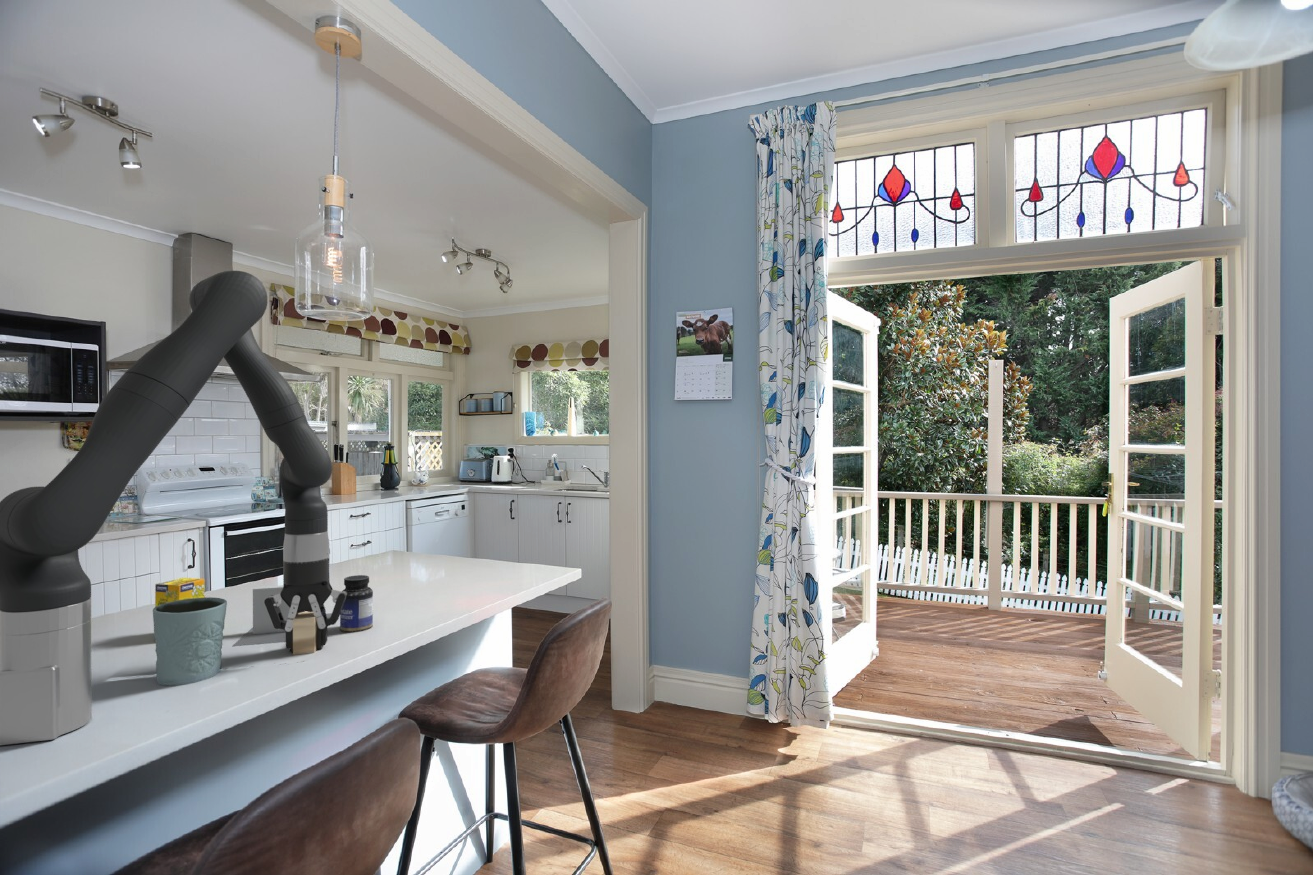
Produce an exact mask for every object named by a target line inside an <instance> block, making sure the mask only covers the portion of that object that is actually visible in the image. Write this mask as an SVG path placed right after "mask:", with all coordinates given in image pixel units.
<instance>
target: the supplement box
mask: <svg viewBox="0 0 1313 875" xmlns="http://www.w3.org/2000/svg"><path fill="white" fill-rule="evenodd" d="M205 583H206V579H205V578H191V577H180V578H176V579H173V580H168V581H164V582H157V583H155V585H154V588H155V589H154V590H155V592H154V593H155V595H154V598H155V599H154V600H155V602H154V603H155V604H154V606H155V607H156V606H158V605H161V604H164V603H168V602H172V601H177V600H184V599H191V598H204V597H205V596H206V595H205V593H206V590H205V587H206V586H205ZM155 607H154V608H155Z"/></svg>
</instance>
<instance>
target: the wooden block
mask: <svg viewBox="0 0 1313 875" xmlns="http://www.w3.org/2000/svg"><path fill="white" fill-rule="evenodd" d="M318 628H319V627H318V623H317V620H316V618H315V617H314V613H313V612H307V611H305V612H301V613H299V614H298V615H297V616H296V618H294V619H293V651H292V655H293V656H294V655H295V656H296V655H306V654H315V653H316V651H317V650H318V649H317V629H318Z"/></svg>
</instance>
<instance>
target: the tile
mask: <svg viewBox="0 0 1313 875" xmlns="http://www.w3.org/2000/svg"><path fill="white" fill-rule="evenodd" d="M282 589H283V585H270V586H255V587H253V589H252V627H253V634H261V633H274V632H285V631H284V630H283V629H275V628H274V626H273V623H272V621H271V618H270V616H269V613H268V611H267V608H266V606H265V603H264V601H265V599H266V598H268V597H269V596H270V595H277V594H280V593H281V591H282ZM279 608H280V610H281V613H282V615H283V618H284V620H285V621H287V619H288V614H289V611H290V607H289V606H288V605H287V604H286V603H285V602H284V600H283V599H281V604H280V605H279Z"/></svg>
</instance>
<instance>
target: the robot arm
mask: <svg viewBox="0 0 1313 875" xmlns="http://www.w3.org/2000/svg"><path fill="white" fill-rule="evenodd" d="M189 306H190V308H191V310H192V311H191V312H190V314H189V316H188V317H187V318H186V319H185V320H184V321H183V322H182V323H181V324H180V325H179V327H177V328H176V329H175V330H173V331H172V333H170V334H169V335H167V336H166V337H164V338H163V339H162V340H161V341H159V342H158V343H156V344H155V345H154V346H153V347H151V348H150V349H149V350H148V351H147V352H145V353H144V354H143V355H142V356H141V357H139V359H138V360H137V361H135V362H134V363H133V364H132V365H131V366H130V367H129V368H128V369H126V371H125V372H124V373H123V374H122V375H121V377H120V378H119V379H118V380H117V381H116V382H115V384H114V385H113V386H112V387H110V389H109V390H108V392H107V393H106V394H105V395H104V397H103V399H102V400H101V402H100V403H99V406H98V408H97V410H96V412H95V414H94V417H93V419H92V421H91V424H90V428H89V431H88V433H87V436H86V438H85V440H84V442H83V444H82V446H81V447H80V449H79V450H78V451H77V453H76V454H75V456H74V457H73V458H72V459H71V460H70V461H69V462H68V463H67V464H66V465H65V466H64V468H63V469H61V471H60V472H59V473H58V474H57V475H56V476H55V477H54V478H52V480H51V481H50V482H48V484H46V485H45V486H30V487H29V486H28V487H25V488H21V489H18V490H15V491H13V492H11V493H9V494H8V495H6V496H5V497H4V498H2V499H1V500H0V746H5V745H16V744H23V743H33V742H40V741H41V742H42V741H49V740H56V739H57V738H58V737H59V736H63V735H64V734H67V733H70V732H73V731H75V730H77V729H79V728H82V727H83V726H86V725H87V724H88V723H89V722H90V721H91V720H92V717H93V716H92V713H93V712H92V711H93V708H92V707H93V706H92V705H93V704H92V703H93V702H92V700H93V698H92V697H93V691H92V690H93V689H92V688H93V686H92V682H93V681H92V673H93V672H92V670H93V669H92V583H91V579H90V578H89V576H88V575H87V574H86V572H85V571H84V570H83V567H82V564H81V561H80V558H79V550H80V549H81V548H83V547H86V545H87V544H88V543H89V542H91V541H92V540H93V538H94V537H96V535H97V534H98V533H99V531H100V530H101V528H102V527H103V525H104V523H105V522H106V520H107V518H108V517H109V516H110V513H111V512H112V511H113V508H114V506H115V505H116V503H117V502H118V500H119V499H120V497H121V496H122V493H124V491H125V489H126V487H127V486H128V484H129V483H130V481H131V480H132V478H133V477H134V475H135V474H136V473H137V472H138V470H140V468H141V467H142V465H144V464H145V462H146V461H147V459H148V458H149V457H150V456H151V454H153V452H154V451H155V450H156V449H157V447H158V446H159V445H160V443H161V442H162V441H163V440H164V439H165V437H166V435H167V434H169V432H170V431H171V430H172V428H173V427H174V426H175V425H176V424H177V423H178V421H180V418H182V416H183V415H184V414H185V412H186V411H187V410H188V408H189V407H190V406H191V404H192V403H193V401H194V400H195V398H196V397H197V396H198V394H199V393H200V391H202V389H203V387H204V386H205V385H206V383H207V382H208V380H210V379H211V376H212V375H213V374H214V372H215V371H216V369H217V368H218V366H219V365H220V363H221V362H222V361H223V359H224V360H225V362H226V363H227V365H228V366H229V368H230V369H231V371H232V372H233V374H234V375H235V377H236V379H237V380H238V382H239V384H240V386H241V387H242V389H243V391H244V392H245V394H246V397H247V398H248V400H249V402H250V404H251V406H252V408H253V410H254V412H255V415H256V417H257V419H258V421H259V423H260V425H261V427H262V429H263V431H264V433H265V435H266V437H268V439H269V440H270V441H271V442H272V443H274V445H276V446H277V447H278V449H279V450H280V453H281V454H282V456H283V458H282V460H281V463H280V466H279V481H280V482H279V483H280V489H281V496H282V500H283V503H284V504H283V505H284V510H285V513H284V538H283V539H284V540H283V547H282V548H283V549H282V550H283V551H282V553H283V555H282V556H283V557H282V558H283V562H282V565H283V567H282V569H283V574H282V575H283V576H282V577H283V589H282V591H281V593H280V594H277V595H270V596H269V597H268V598H266V599H265V601H264V603H265V606H266V608H267V611H268V613H269V616H270V618H271V621H272V623H273V626H274V628H275V629H283V630H284V631H285V632H286V642H285V647H286V649H289V650H288V651H289V652H293V619H294V618H296V616H297V615H298V614H299V613H301V612H313V613H314V617H315V618H316V620H317V623H318V627H319V628H318V629H317V650H322V649H323V648H324V646H326V644H327V642H328V627H329V626H334V625H336V623H337V621H338V620H340V613H341V610H342V607H343V605H344V602H345V599H346V596H347V592H346V591H343V590H341V591H340V590H337V589H333V587H332V585H331V583H330V554H331V549H330V539H329V531H328V530H329V527H328V526H329V524H328V522H329V521H328V519H329V518H328V517H329V516H328V513H329V511H328V507H327V504H326V502H325V501H324V500H323V498H322V492H321V486H323V485H325V484H326V483H327V482H328V481H329V480H330V478H331V477H332V474H333V462H332V460H331V457H330V455H329V453H328V451H327V449H326V448H325V446H324V444H323V443H322V441H321V440H320V438H319V437H318V436H317V433H316V432H315V431H314V430H313V428H312V427H311V426H310V424H309V422H308V420H307V417H306V414H305V413H304V410H303V408H302V406H301V404H300V402H299V400H298V397H297V395H296V394H295V392H294V389H293V388H292V387H291V385H290V384H289V382H288V381H287V380H286V378H284V376H283V375H282V373H280V372H279V371H278V370H277V368H276V367H275V366H274V365H273V364H272V363H271V361H270V360H269V359H268V358H267V356H266V355H265V354H264V352H263V351H262V349H261V348H260V346H259V343H258V342H257V340H256V337H255V336H254V333H253V330H252V328H253V327H254V326H255V325H256V324H257V322H259V321H260V320H261V319H262V317H264V315H265V313H266V310H267V307H268V292H267V290H266V287H265V286H264V284H263V283H262V281H261V280H260V279H259V278H258V277H256V276H255V275H254V274H252V273H249V272H247V271H241V270H227V271H226V270H225V271H222V272H218V273H215V274H214V275H211V276H208V277H207V278H205V279H202V280H200V281H199V282H197V283H196V284H195V285H194V286H193V287H192V289H191V291H190V293H189ZM330 596H331V597H332V602H333V603H334V606H333V609H332V612H331V613H332V615H331V617H329V618H327V616H326V614H327V613H326V607H325V602H326V601H327V600H328V599H329V598H330ZM281 599H283V600H284V602H285V603H286V604H287V605H288V606H289V607H290V611H289V614H288V619H287V621H285V620H284V618H283V615H282V613H281V610H280V608H279V605H280V604H281Z"/></svg>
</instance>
